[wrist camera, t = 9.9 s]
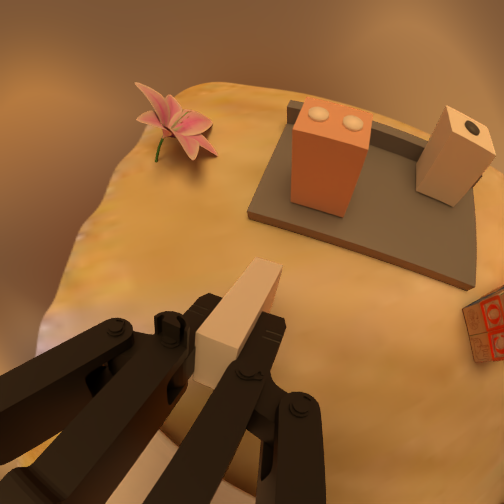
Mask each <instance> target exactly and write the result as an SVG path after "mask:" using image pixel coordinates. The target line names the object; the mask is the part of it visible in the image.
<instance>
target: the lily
mask: <svg viewBox="0 0 504 504" xmlns="http://www.w3.org/2000/svg"><path fill="white" fill-rule="evenodd" d="M135 84H136V86H137V87H138V88H139V89H140V90H141V91H142V92H143V93H144V95H145V96H146V97H147V98H148V100H149V101H150V102H151V104H152V106H153V108H154V110H155V111H148V112H145V113H143V114H142V115H140V116H139V117H138V118H137V121H139V122H142V123H145V124H149V125H152V126H155V127H158V128H162V130H163V137H162V139H161V141H160V143H159V146H158V149H157V153H156V159H155V162H157V161H158V155H159V151H160V147H161V145H162V142H163V140H164V139H165V137H174V138H177V139H178V141H179V142H180V144H181V145H182V147H183V149H184V150H185V152H186V153H187V155H188V156H189V158H190V159H191V160H195V158H196V157H197V154H198V151H199V145H200V146H201V147H203V148H205V149H207V150H208V151H210V152H211V153H213V154H215V155H216V156H218V154H217V152H216V150H215V149H214V148H213V146H212V145H211V144H210V142H209V141H208V140H207V139H206V138H205V137H204V136H203V135H202V134H200V133H202V132H204V131H206V130H207V129H208V128H210V127H211V126H212V124H213V123H212V121H211V120H210V119H209V118H207V117H206V116H204V115H202V114H200V113H198V112H196V111H193V110H188V109H182V107H181V106H180V104H179V103H178V102H177V100H176V99H175V98H174V97H173V96H171V95H167V97H166V98H164V97H163V96H162V95H161V94H160V93H158V92H157V91H155V90H153V89H151V88H150V87H148V86H145V85H143V84H141V83H138V82H135ZM159 119H160V120H159ZM160 121H161V123H160ZM161 124H162V125H161Z"/></svg>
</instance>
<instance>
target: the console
mask: <svg viewBox="0 0 504 504" xmlns="http://www.w3.org/2000/svg"><path fill="white" fill-rule="evenodd" d="M303 104H304V103H303V102H298V101H293V100H290V102H289V104H288V106H287V124H286V127H285V129H284V131H283V133H282V135H281V137H280V139H279V142H278V144H277V146H276V148H275V150H274V152H273V154H272V157H271V159H270V161H269V163H268V165H267V168H266V170H265V172H264V174H263V176H262V179H261V181H260V183H259V185H258V187H257V190H256V192H255V194H254V196H253V198H252V201H251V203H250V205H249V207H248V210H247V213H248V217H249V219H252V220H255V221H259V222H262V223H265V224H269V225H272V226H275V227H279V228H282V229H285V230H289V231H292V232H295V233H299V234H302V235H305V236H308V237H312V238H315V239H318V240H321V241H324V242H327V243H331V244H334V245H337V246H340V247H343V248H346V249H349V250H352V251H355V252H358V253H361V254H364V255H367V256H370V257H373V258H376V259H379V260H382V261H385V262H388V263H391V264H394V265H397V266H400V267H403V268H406V269H408V270H411V271H414V272H417V273H420V274H423V275H425V276H428V277H431V278H434V279H436V280H439V281H442V282H445V283H447V284H450V285H453V286H455V287H458V288H461V289H463V290H466V291H468V290H470V289H472V288H474V287H475V283H476V259H477V242H476V218H475V205H474V195H473V187H474V186H475V184H476V183H477V182H478V181H479V180H480V178H481V177H482V175H481V176H480V177H479V178H478V180H477V181H476V182H475V183H474V184H473V186H472V187H471V188H470V189H469V190H468V192H467V193H466V194H465V195H464V196H463V197H462V198H461V200H460V201H459V202H458V203H457V204H456V205H455V206H454V207H452V206H450V205H448V204H446V203H443V202H441V201H439V200H437V199H434V198H432V197H430V196H427V195H425V194H422V193H420V192H417V191H416V163H417V161H418V160H419V158H420V156H421V154H422V152H423V150H424V149H425V147H426V145H427V143H428V141H426V140H423V139H421V138H419V137H416V136H414V135H411V134H409V133H406V132H403V131H401V130H398V129H395V128H393V127H390V126H387V125H384V124H381V123H378V122H375V121H372V126H371V134H370V141H369V148H368V152H367V155H366V158H365V161H364V164H363V167H362V169H361V172H360V175H359V178H358V181H357V183H356V186H355V189H354V191H353V194H352V197H351V199H350V202H349V205H348V207H347V210H346V212H345V215H344V217H343V218H342V217H339V216H336V215H332V214H329V213H326V212H323V211H319V210H316V209H313V208H309V207H306V206H303V205H299V204H296V203H292V202H291V172H292V129H293V127H294V124H295V122H296V120H297V118H298V115H299V113H300V111H301V109H302V106H303Z"/></svg>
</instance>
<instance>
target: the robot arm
mask: <svg viewBox="0 0 504 504" xmlns="http://www.w3.org/2000/svg"><path fill="white" fill-rule="evenodd" d="M282 268H283V265H281V264H278V263H275V262H271V261H268V260H265V259H262V258H259V257H255V258H254V260H253V261H252V262H251V263H250V265H249V266H248V267H247V268H246V270H245V271H244V272H243V274H242V275H241V276H240V277H239V279H238V280H237V281H236V282H235V284H234V285H233V286H232V287H231V289H230V290H229V291H228V292H227V294H226V295H225V296H224V297H223V298H221V297H219V296H216V295H213V294H211V293H208V294H206V295H203V296H201V297H199V298H198V299H197V300H196V302H195V303H194V304H193V305H192V306H191V307H190V308H189V310H187V311H186V312H185V313H184V314H183V315H182V314H180V313H177V312H174V311H165V312H161V313H158V314H157V315H155V316H154V325H155V334H154V335H151V334H145V333H140V332H135V331H133V327H132V325H131V324H130V322H128V321H127V320H125V319H121V318H111V319H108V320H106V321H104V322H102V323H100V324H98V325H96V326H94V327H92V328H90V329H88V330H86V331H85V332H83V333H81V334H79V335H77V336H75V337H73V338H71V339H69V340H67V341H65V342H63V343H62V344H60V345H58V346H56V347H54V348H52V349H50V350H48V351H46V352H44V353H43V354H41V355H39V356H37V357H35V358H33V359H31V360H29V361H27V362H25V363H24V364H22V365H20V366H18V367H16V368H14V369H12V370H10V371H9V372H7V373H5V374H3V375H1V376H0V465H4V464H6V463H8V462H10V461H12V460H14V459H16V458H18V457H19V456H21V455H23V454H24V453H26V452H28V451H30V450H31V449H33V448H35V447H36V446H38V445H40V444H41V443H43V442H45V441H46V440H48V439H50V438H51V437H53V436H54V435H56V434H58V433H59V432H61V431H62V432H61V433H60V434H59V435H58V436H57V437H56V439H55V440H54V441H53V442H52V443H51V444H50V445H49V446H48V447H47V448H46V449H45V451H44V452H43V453H42V454H41V455H40V456H39V457H38V458H37V459H36V460H35V462H34V463H33V464H31V465H30V466H28V467H17V468H15V469H12V470H11V471H10V472H8V473H7V474H6V475H5V476H4V478H3V479H2V480H1V481H0V504H105V503H106V502H107V500H108V499H109V498H110V496H111V495H112V494H113V492H114V491H115V490H116V488H117V487H118V486H119V484H120V483H121V482H122V480H123V479H124V477H125V476H126V475H127V473H128V472H129V471H130V469H131V468H132V466H133V465H134V464H135V462H136V461H137V459H138V458H139V457H140V455H141V454H142V452H143V451H144V450H145V448H146V447H147V445H148V444H149V443H150V441H151V440H152V438H153V437H154V436H155V434H156V433H157V431H158V430H159V428H160V427H161V426H162V424H163V423H164V421H165V420H166V418H167V417H168V415H169V414H170V413H171V411H172V410H173V408H174V407H175V405H176V404H177V402H178V401H179V400H180V398H181V397H182V395H183V394H184V392H185V391H186V389H187V386H188V379H189V378H190V377H191V375H192V374H193V380H194V381H196V382H199V383H201V384H203V385H205V386H208V387H210V388H212V389H214V391H213V393H212V394H211V396H210V398H209V399H208V401H207V403H206V404H205V406H204V408H203V409H202V411H201V413H200V414H199V416H198V417H197V419H196V421H195V422H194V424H193V426H192V427H191V429H190V431H189V432H188V434H187V435H186V437H185V439H184V440H183V442H182V443H181V445H180V447H179V448H178V450H177V451H176V453H175V454H174V456H173V458H172V459H171V461H170V462H169V464H168V465H167V467H166V468H165V470H164V471H163V473H162V475H161V476H160V478H159V479H158V481H157V482H156V484H155V485H154V487H153V488H152V490H151V491H150V493H149V494H148V496H147V497H146V498H145V500H144V501H143V503H142V504H210V503H211V501H212V499H213V497H214V495H215V493H216V491H217V489H218V487H219V485H220V483H221V481H222V479H223V477H224V475H225V473H226V471H227V469H228V467H229V465H230V463H231V461H232V459H233V457H234V455H235V452H236V450H237V448H238V446H239V444H240V442H241V439H242V437H243V435H244V433H245V431H246V429H247V430H248V431H250V432H251V433H252V434H254V435H255V436H257V437H258V438H259V439H261V447H260V458H259V470H258V481H257V491H256V502H255V504H326V485H325V465H324V449H323V435H322V423H321V412H320V407H319V404H318V402H317V401H316V400H315V399H314V397H312V396H310V395H309V394H307V393H303V392H291V393H287V392H285V391H284V390H282V389H281V388H279V387H278V386H277V385H276V384H275V383H274V382H273V380H272V378H271V373H270V370H271V367H272V365H273V362H274V360H275V357H276V354H277V352H278V349H279V346H280V343H281V341H282V338H283V335H284V332H285V329H286V324H285V320H284V318H281V317H278V316H275V315H272V314H269V312H270V310H271V308H272V305H273V301H274V297H275V294H276V290H277V286H278V283H279V279H280V275H281V272H282Z"/></svg>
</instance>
